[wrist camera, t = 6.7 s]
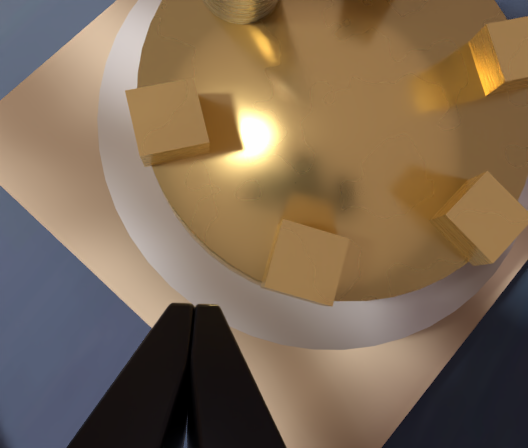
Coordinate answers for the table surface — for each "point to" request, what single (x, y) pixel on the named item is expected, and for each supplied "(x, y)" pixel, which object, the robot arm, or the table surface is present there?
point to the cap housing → (209, 269)
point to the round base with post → (338, 137)
